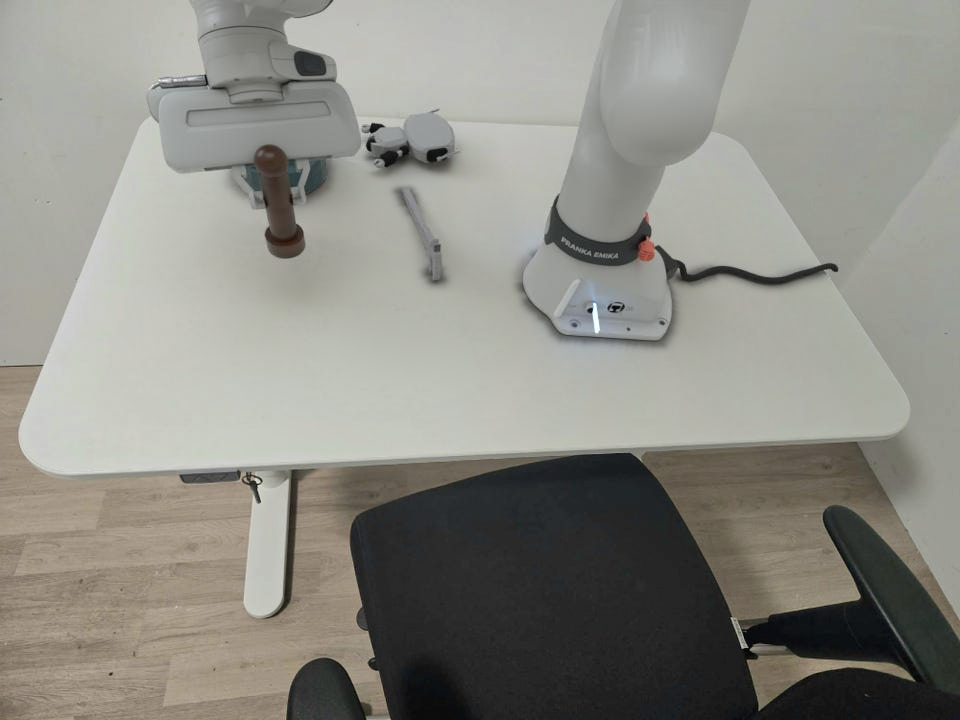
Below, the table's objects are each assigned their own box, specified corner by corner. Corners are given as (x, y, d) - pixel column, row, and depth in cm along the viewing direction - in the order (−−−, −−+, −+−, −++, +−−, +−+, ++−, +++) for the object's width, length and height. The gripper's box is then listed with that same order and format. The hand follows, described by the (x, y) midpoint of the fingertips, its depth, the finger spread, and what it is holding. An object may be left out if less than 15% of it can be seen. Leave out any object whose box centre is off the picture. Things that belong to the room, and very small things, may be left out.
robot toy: (376, 184, 94) (462, 169, 98) (373, 160, 90) (464, 146, 94) (359, 138, 100) (442, 126, 104) (356, 115, 97) (442, 103, 100)
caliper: (440, 282, 83) (444, 250, 78) (432, 283, 82) (436, 251, 77) (407, 190, 93) (408, 157, 88) (400, 190, 93) (401, 157, 88)
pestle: (310, 237, 71) (297, 139, 59) (298, 262, 68) (281, 165, 57) (275, 229, 70) (255, 130, 59) (261, 254, 68) (238, 155, 57)
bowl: (338, 155, 96) (336, 128, 92) (309, 210, 87) (306, 183, 83) (255, 137, 95) (249, 109, 91) (218, 189, 87) (210, 161, 83)
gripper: (134, 68, 54) (173, 217, 57) (349, 58, 61) (374, 192, 64) (147, 87, 60) (182, 221, 63) (342, 75, 67) (365, 197, 70)
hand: (280, 206), depth 64 cm, fingers closed on pestle, 3 cm apart
